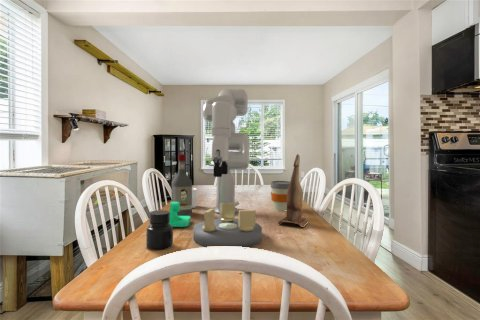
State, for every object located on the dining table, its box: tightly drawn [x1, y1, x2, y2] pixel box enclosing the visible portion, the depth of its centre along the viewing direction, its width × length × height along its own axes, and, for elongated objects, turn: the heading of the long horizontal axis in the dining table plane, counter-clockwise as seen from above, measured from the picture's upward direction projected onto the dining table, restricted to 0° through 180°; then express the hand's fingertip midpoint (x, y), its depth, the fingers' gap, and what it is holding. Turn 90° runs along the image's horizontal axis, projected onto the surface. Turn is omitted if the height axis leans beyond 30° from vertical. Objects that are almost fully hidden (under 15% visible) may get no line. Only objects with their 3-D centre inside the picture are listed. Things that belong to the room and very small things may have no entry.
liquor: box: [171, 153, 193, 216], centre depth 149 cm, size 9×9×30 cm
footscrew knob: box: [219, 203, 236, 223], centre depth 122 cm, size 6×5×7 cm
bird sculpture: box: [277, 154, 309, 227], centre depth 133 cm, size 11×12×32 cm
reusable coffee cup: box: [270, 180, 290, 212], centre depth 163 cm, size 13×12×15 cm
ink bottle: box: [145, 209, 174, 251], centre depth 104 cm, size 10×9×12 cm
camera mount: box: [168, 201, 191, 228], centre depth 130 cm, size 12×8×10 cm, turn 0°
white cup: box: [192, 187, 198, 209], centre depth 166 cm, size 8×8×10 cm
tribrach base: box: [193, 208, 263, 248], centre depth 114 cm, size 26×26×12 cm
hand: (220, 175), depth 120 cm, fingers open, 9 cm apart
